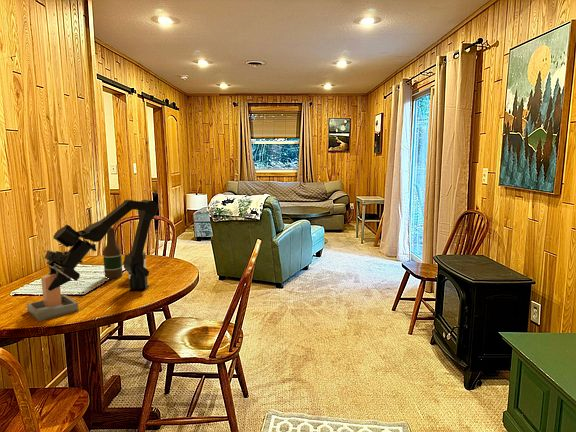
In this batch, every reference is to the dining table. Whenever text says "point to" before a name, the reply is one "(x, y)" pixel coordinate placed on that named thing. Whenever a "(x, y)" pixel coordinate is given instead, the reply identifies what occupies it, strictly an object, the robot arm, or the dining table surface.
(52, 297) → the carton
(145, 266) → the jar
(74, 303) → the tote
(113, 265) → the beer bottle
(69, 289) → the dining table surface
